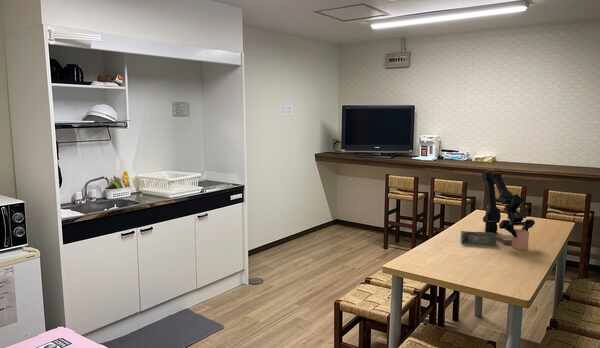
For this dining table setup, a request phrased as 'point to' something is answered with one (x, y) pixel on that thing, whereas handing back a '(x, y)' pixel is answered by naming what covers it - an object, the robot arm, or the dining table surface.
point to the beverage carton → (478, 238)
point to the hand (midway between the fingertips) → (521, 237)
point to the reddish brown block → (520, 239)
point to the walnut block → (504, 239)
